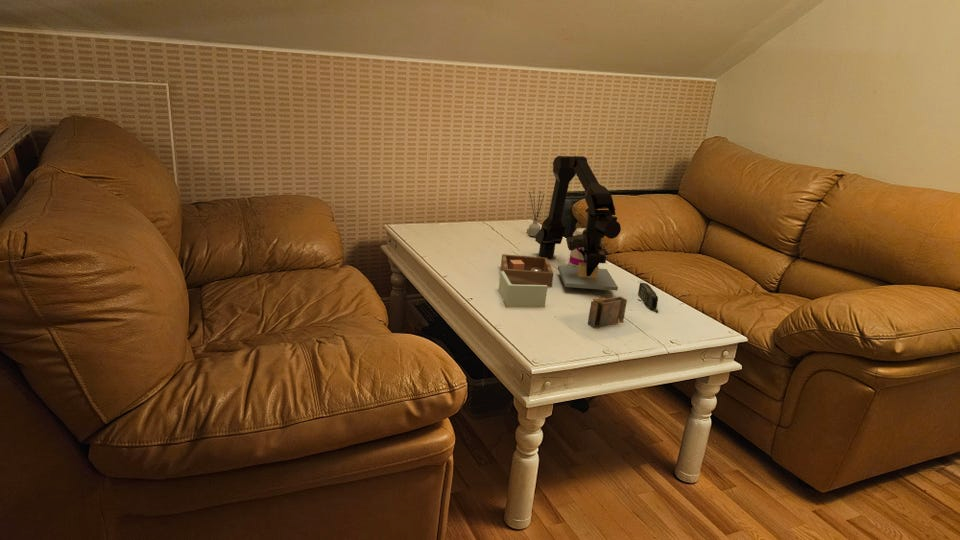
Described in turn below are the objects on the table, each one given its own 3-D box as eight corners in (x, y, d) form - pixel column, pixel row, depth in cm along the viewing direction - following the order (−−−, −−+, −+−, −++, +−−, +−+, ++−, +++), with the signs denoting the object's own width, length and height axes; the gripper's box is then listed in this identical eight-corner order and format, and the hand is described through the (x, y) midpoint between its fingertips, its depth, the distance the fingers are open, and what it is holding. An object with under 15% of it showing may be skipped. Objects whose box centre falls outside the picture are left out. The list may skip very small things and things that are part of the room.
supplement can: (590, 275, 213) (597, 235, 208) (567, 272, 214) (573, 232, 209) (591, 268, 221) (597, 229, 216) (568, 265, 222) (574, 226, 217)
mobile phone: (638, 281, 199) (653, 297, 184) (647, 281, 199) (663, 298, 185) (636, 295, 200) (650, 312, 186) (644, 295, 200) (660, 313, 186)
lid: (557, 268, 208) (559, 254, 206) (606, 272, 209) (608, 258, 207) (565, 286, 192) (567, 271, 190) (617, 290, 193) (620, 275, 191)
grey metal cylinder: (529, 278, 203) (530, 267, 202) (539, 278, 203) (541, 267, 202) (530, 282, 200) (531, 270, 198) (540, 282, 200) (542, 271, 198)
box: (500, 268, 212) (502, 254, 210) (545, 272, 212) (547, 257, 210) (502, 285, 196) (504, 269, 195) (551, 289, 197) (553, 273, 195)
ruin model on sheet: (594, 330, 171) (599, 298, 168) (587, 325, 174) (592, 294, 170) (623, 324, 177) (629, 293, 174) (616, 320, 179) (622, 290, 176)
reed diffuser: (544, 239, 251) (550, 192, 244) (530, 240, 248) (535, 192, 241) (531, 232, 259) (537, 186, 252) (517, 233, 256) (523, 186, 249)
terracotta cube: (508, 270, 208) (509, 260, 207) (519, 270, 209) (520, 259, 208) (512, 275, 204) (513, 264, 203) (523, 274, 206) (524, 263, 204)
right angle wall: (544, 309, 183) (547, 286, 180) (506, 308, 181) (508, 285, 178) (534, 293, 194) (537, 272, 191) (498, 293, 192) (500, 271, 189)
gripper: (565, 219, 203) (559, 262, 208) (574, 235, 185) (567, 282, 191) (598, 222, 203) (591, 265, 209) (610, 238, 186) (602, 285, 191)
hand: (587, 274), depth 200 cm, fingers closed on lid, 3 cm apart
